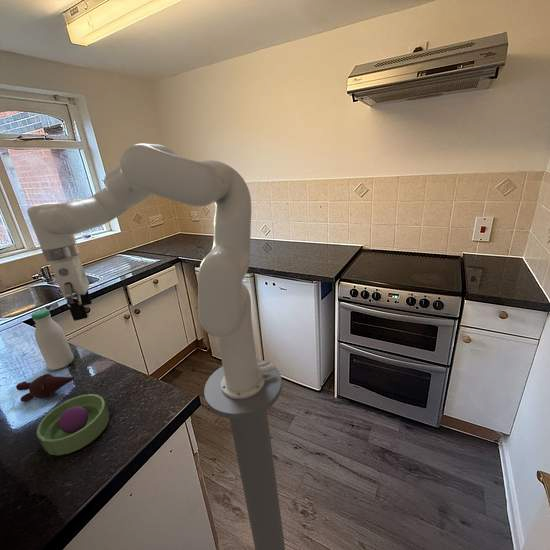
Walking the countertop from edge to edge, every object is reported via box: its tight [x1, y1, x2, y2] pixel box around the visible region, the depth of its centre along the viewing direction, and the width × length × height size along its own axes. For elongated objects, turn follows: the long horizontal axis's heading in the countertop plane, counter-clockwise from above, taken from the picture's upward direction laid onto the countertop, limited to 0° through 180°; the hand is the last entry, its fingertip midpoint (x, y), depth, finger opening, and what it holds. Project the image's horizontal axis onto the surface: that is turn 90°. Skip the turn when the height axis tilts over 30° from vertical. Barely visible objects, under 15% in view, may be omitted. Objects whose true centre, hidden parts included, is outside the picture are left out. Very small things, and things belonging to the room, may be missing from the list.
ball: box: [59, 406, 88, 433], centre depth 74 cm, size 6×6×6 cm
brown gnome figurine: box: [15, 373, 75, 403], centre depth 87 cm, size 7×7×15 cm
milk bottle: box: [31, 308, 75, 371], centre depth 99 cm, size 8×8×20 cm
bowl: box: [36, 393, 110, 456], centre depth 74 cm, size 14×14×5 cm
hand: (83, 311), depth 83 cm, fingers open, 9 cm apart
